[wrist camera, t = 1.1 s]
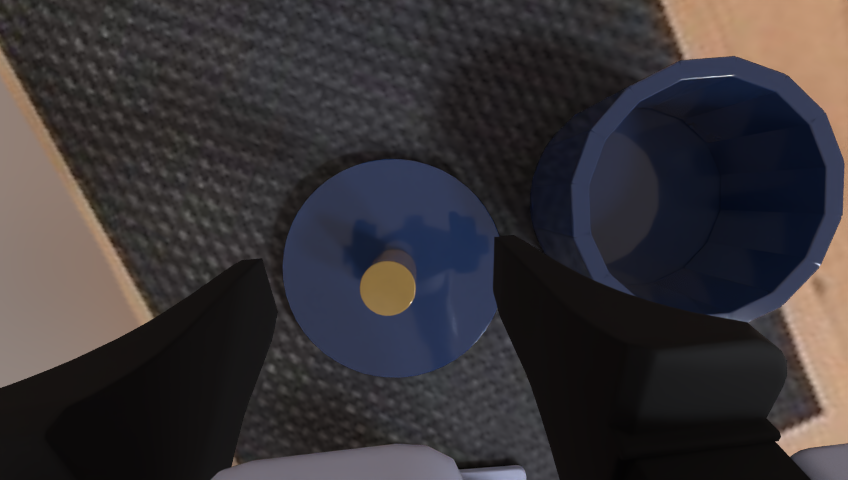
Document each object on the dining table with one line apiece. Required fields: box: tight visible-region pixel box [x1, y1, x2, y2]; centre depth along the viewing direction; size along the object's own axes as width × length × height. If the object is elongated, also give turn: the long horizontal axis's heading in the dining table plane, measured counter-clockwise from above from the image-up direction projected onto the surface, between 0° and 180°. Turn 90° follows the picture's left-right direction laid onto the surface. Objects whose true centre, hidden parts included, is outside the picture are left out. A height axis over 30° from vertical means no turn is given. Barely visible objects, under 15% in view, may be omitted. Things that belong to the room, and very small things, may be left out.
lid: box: [283, 159, 500, 378], centre depth 21 cm, size 13×13×5 cm
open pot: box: [530, 56, 844, 323], centre depth 20 cm, size 12×12×6 cm
